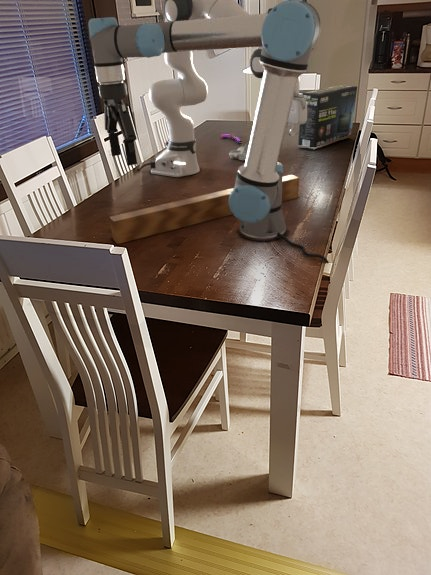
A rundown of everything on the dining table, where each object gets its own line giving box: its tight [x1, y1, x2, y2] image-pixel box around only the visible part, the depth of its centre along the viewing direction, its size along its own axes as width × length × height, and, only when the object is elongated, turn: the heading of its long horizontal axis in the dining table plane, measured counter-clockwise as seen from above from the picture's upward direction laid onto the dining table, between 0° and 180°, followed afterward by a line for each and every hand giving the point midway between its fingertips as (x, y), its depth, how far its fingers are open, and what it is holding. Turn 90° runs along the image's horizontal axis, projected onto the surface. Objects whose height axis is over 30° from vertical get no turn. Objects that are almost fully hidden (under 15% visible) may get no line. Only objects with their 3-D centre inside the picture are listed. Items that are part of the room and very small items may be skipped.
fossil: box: [228, 141, 249, 161], centre depth 224 cm, size 18×11×15 cm
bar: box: [108, 174, 300, 245], centre depth 161 cm, size 73×4×8 cm, turn 120°
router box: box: [297, 84, 358, 151], centre depth 238 cm, size 36×11×27 cm, turn 134°
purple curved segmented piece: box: [220, 133, 243, 145], centre depth 256 cm, size 21×8×2 cm, turn 11°
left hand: (283, 132), depth 162 cm, fingers open, 8 cm apart
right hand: (124, 159), depth 137 cm, fingers open, 13 cm apart
